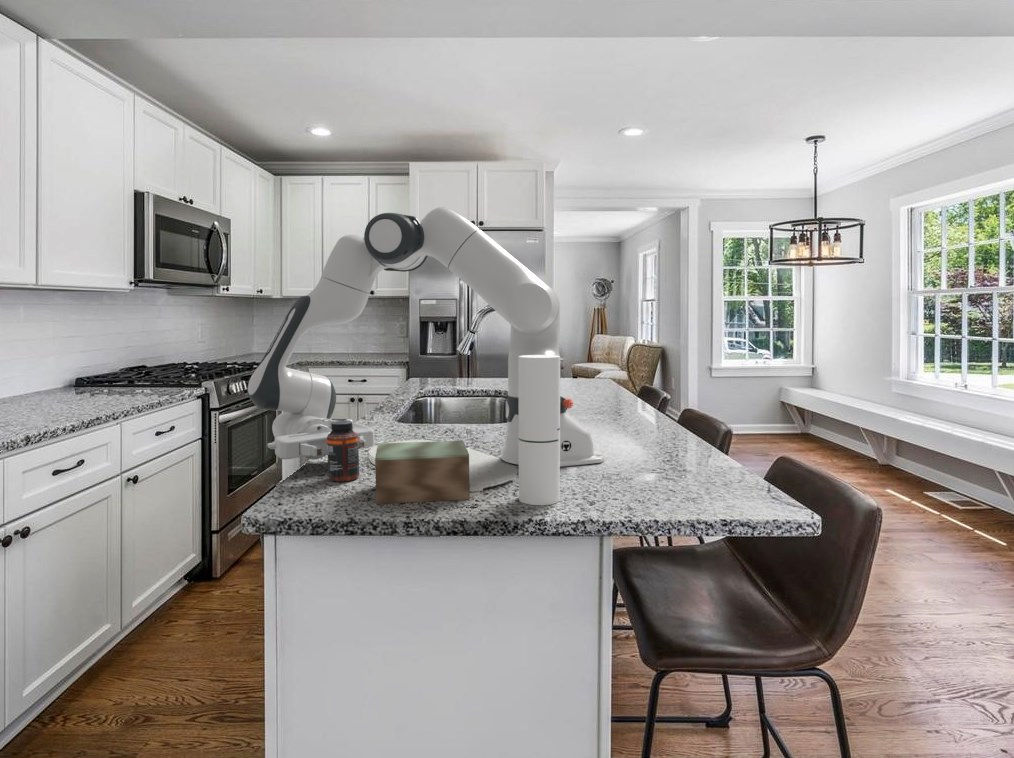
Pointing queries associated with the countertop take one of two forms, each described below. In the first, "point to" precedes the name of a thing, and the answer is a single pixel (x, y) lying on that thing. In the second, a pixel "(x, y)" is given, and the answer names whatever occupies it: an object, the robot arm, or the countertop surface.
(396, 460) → the block
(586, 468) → the countertop surface
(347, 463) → the supplement bottle
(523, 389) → the cylindrical container
